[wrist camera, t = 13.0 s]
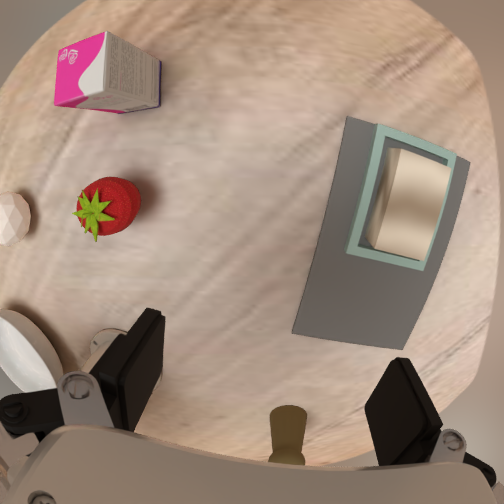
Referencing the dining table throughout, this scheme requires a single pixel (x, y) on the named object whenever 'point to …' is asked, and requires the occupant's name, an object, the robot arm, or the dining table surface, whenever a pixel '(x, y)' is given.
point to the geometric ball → (13, 218)
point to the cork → (287, 434)
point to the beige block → (407, 204)
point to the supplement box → (107, 76)
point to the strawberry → (108, 206)
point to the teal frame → (367, 189)
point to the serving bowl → (27, 354)
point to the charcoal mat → (364, 269)
